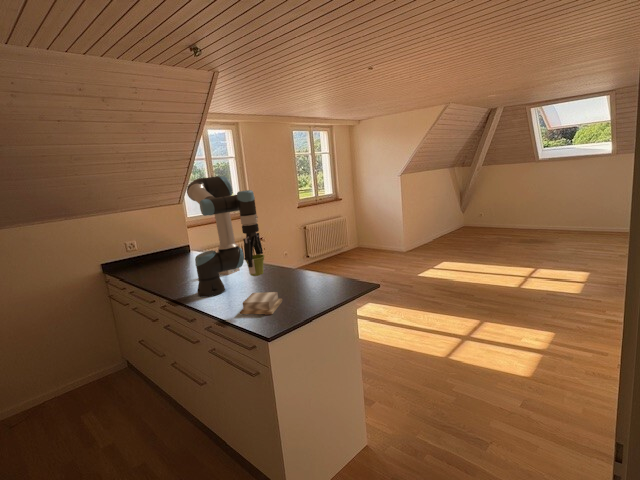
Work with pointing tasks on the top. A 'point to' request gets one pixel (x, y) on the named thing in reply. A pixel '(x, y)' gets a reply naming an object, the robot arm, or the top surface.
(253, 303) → the pedestal base
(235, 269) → the grater
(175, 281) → the top surface
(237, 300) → the top surface
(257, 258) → the plant pot
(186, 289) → the top surface
